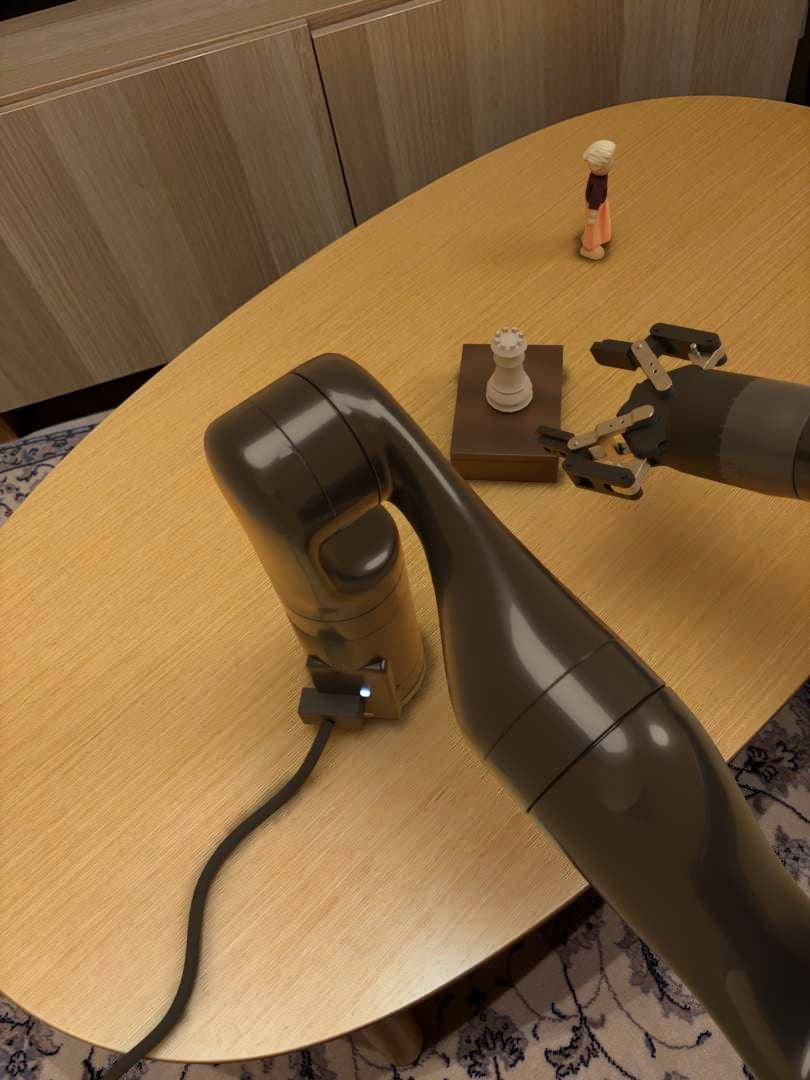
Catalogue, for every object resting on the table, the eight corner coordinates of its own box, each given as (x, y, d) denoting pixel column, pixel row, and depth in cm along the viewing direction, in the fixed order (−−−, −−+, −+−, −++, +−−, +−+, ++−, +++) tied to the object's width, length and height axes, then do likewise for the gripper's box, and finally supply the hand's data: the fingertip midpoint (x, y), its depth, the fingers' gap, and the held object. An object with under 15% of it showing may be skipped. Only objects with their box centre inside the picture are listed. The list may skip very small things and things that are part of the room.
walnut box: (557, 482, 82) (559, 456, 78) (452, 478, 83) (449, 453, 80) (561, 372, 89) (563, 344, 86) (464, 370, 91) (463, 343, 87)
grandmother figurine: (614, 264, 97) (626, 162, 86) (579, 267, 97) (587, 166, 87) (606, 220, 101) (617, 117, 90) (573, 223, 101) (580, 121, 91)
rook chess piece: (542, 394, 83) (545, 332, 76) (512, 422, 81) (512, 362, 74) (506, 373, 84) (505, 311, 78) (476, 400, 83) (473, 339, 76)
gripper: (718, 547, 60) (540, 489, 71) (815, 386, 62) (628, 355, 74) (685, 488, 55) (500, 435, 66) (793, 315, 57) (596, 293, 69)
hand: (568, 393), depth 70 cm, fingers open, 8 cm apart
